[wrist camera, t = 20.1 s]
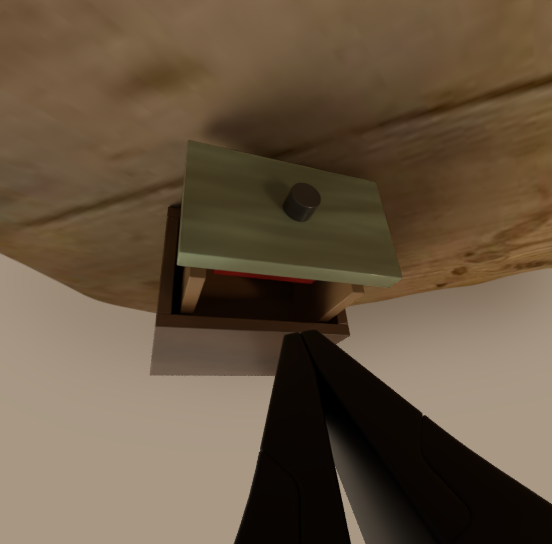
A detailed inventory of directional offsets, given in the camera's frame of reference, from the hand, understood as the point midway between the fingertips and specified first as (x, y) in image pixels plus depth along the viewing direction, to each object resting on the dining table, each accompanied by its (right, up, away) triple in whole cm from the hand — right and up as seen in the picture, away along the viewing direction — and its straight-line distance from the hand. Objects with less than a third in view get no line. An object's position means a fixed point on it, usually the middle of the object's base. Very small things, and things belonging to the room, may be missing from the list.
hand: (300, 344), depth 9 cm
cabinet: (-4, +3, +21) cm, 22 cm away
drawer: (-1, +6, +15) cm, 16 cm away
